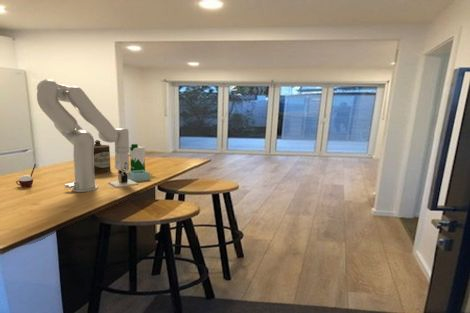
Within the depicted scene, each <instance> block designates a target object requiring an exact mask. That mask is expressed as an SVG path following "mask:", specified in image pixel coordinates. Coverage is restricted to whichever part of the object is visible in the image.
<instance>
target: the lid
mask: <svg viewBox="0 0 470 313" xmlns="http://www.w3.org/2000/svg"><path fill="white" fill-rule="evenodd" d="M117 174H119V180H113V181H108V183H109V184H108V185H110V184H111V185H110V186H112V185H113V186H115V187H119V188H124V187H123V186H125V187H131V186H130V185H132V186H137V184H138V182H134V181H132V180H130V179H128V182H122V173H118V172H117ZM113 186H112V187H113ZM115 187H114V188H115Z"/></svg>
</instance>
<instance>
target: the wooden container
mask: <svg viewBox="0 0 470 313" xmlns="http://www.w3.org/2000/svg"><path fill="white" fill-rule="evenodd" d="M110 148H111V147H110V145H109V144H102V143H101V141H100V140H98V139H96V140H94V173H95V175H104V174H109V173H110V172H111V170H112V169H111V151H110Z"/></svg>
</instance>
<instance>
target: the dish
mask: <svg viewBox="0 0 470 313" xmlns="http://www.w3.org/2000/svg"><path fill="white" fill-rule="evenodd" d="M150 175H151V174H150V171H147V170H146V169H145V170H136V171H131V170H128V175H127V176H128V179H130V180H132V181H134V182H136V183H138V182H144V181H149V180H150V179H151V176H150Z"/></svg>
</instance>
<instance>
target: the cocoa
mask: <svg viewBox="0 0 470 313" xmlns="http://www.w3.org/2000/svg"><path fill="white" fill-rule="evenodd" d="M36 165H37V164H34V165H33V168H32V170H31V174H30V175H28V174H23V175H21V176H20V177H19V180H16V182H15V183H16V184H17V185H18V186H20V187H23V188H29V187H31V186H32V185H33V182H34V177H33V174H34V171H35V168H36Z"/></svg>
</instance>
